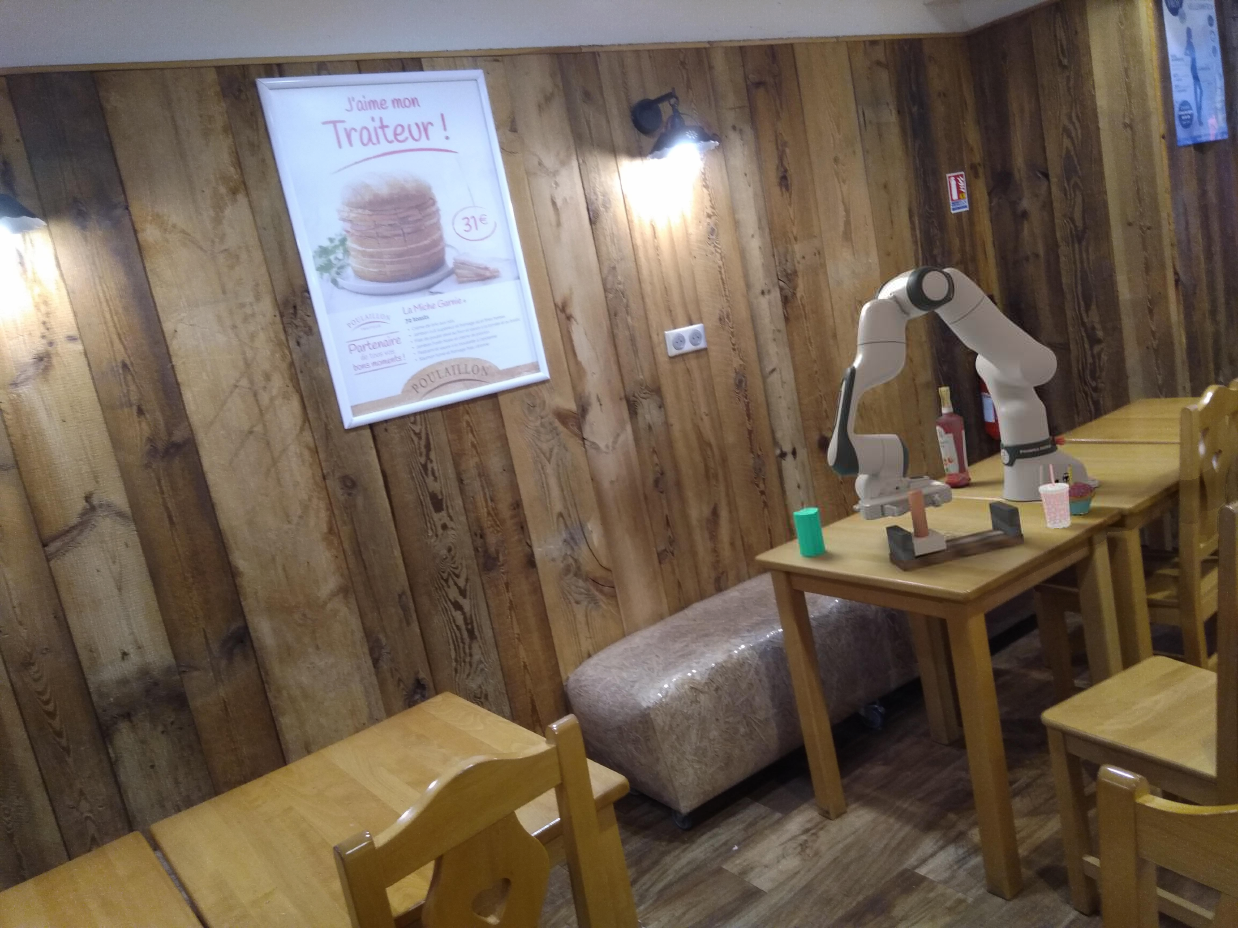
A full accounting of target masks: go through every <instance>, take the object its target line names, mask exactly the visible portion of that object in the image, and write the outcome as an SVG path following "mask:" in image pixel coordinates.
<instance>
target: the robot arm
mask: <svg viewBox="0 0 1238 928" xmlns="http://www.w3.org/2000/svg"><path fill="white" fill-rule="evenodd" d="M933 311H934V312H935V313H937V314H938V316H939V317H940V319H942V320H943V322H944V324H946V325H947V326H948V327H949V328H950V330H951V331H952V332H953V333H954V334H955V336H957V337H958V338H959V340H960V341H962V343H963V344H964V345H965V346H966V347H967V348H969V349H970V350H972V351H974V352H975V353H977V354H978V355H977V357H976V359H975V360H976V361H975V368H976V371H977V374H978V376H980V378H981V379H982V380H983V382H984V383H985V385H986V388H987V391H988V392H989V394H990V395H989V396H990V397H991V398H990V399H991V401H992V403H993V406H994V408H995V412H996V416H997V420H998V421H997V422H998V429H999V432H1000V433H999V434H1000V440H1001V441H1000V442H999V447H1000V455H1001V456H1000V457H1001V459H1002V464H1003V470H1004V471H1003V473H1004V475H1003V477H1004V479H1003V491H1002V498H1003V499H1005V500H1009V501H1016V502H1027V501H1028V502H1029V501H1031V502H1033V501H1042V497H1041V493H1040V492H1039V487H1040V486H1043V485H1046V484H1052V480H1051V472H1050V465H1052V469H1053V477H1054V483H1065V484H1066V483H1069V482H1070V477H1069V471H1068V467H1069V465H1070V467H1071V470H1072V476H1073V482H1083V483H1086V484H1089V485H1091V486H1092V487H1093V488H1094V489H1095V488H1097V487H1100V482H1099V480H1098V479H1096V478H1094V477H1091V476H1088V475H1089V474H1088V472H1087V468H1086V466H1085V465H1084V463H1083V462H1082V461H1081V460H1080V459H1078V458H1076V457H1074V456H1072V455H1070V454H1068V453H1067V452H1065V451H1063V450H1060V449H1059V446H1064V445H1065V443H1066V438H1064V437H1061V436H1055V437H1054V436H1051V435H1050V433H1049V432H1050V431H1049V427H1048V426H1049V425H1048V418H1047V412H1046V411H1047V410H1046V406H1045V405H1044V403H1043V401H1042V400H1041V399H1040V397H1039V396H1038V394H1037V393H1036V390H1035V388H1034V387H1038V386H1041V385H1043V384H1046V383H1048V382H1049V381H1051V379H1053V377H1054V376H1055V373H1056V371H1057V367H1058V365H1057V364H1058V362H1057V357H1056V355H1055V353H1054V351H1052V350H1051V348H1049V347H1047V346H1046V345H1044V344H1042V343H1040V342H1038V341H1037V340H1035V338H1033V337H1032V336H1031V335H1030V334H1028V333H1027V332H1025V331H1024V330H1023V329H1022V328H1021V327H1020V326H1018V325H1017V324H1015V323H1014V321H1011V320H1010V319H1009V318H1007V316H1006V315H1004V314H1003V312H1001V311H1000V310H999V308H998V307H997V306H996V305H995V304H994V303H993V302H992V301H991V299H990V298H989V297H988V296H987V295H986V293H985V292H984V291H983V290H982V289H981V287H979V286H978V285H977V284H976V283H975V282H974V281H973V280H972V279H970V277H968V276H967V275H965V273H963V272H961V271H960V270H959V269H956V268H953V267H946V268H944V269H942V268H940V267H937V266H932V265H925V266H919V267H917V268H915V269H912V270H908V271H905V272H902V273H900V274H899V275H897V276H896V277H894V278H892V279H889V280H887V281H886V282H884V283H883V284H881V286H880V287H879V288H878V290H877V291H876V293H875V295H874V299H872V300H870V301H868V302H867V303H865V304H864V305H863V307H862V309H861V311H860V317H859V320H858V321H859V322H858V327H857V349H856V350H857V351H856V355H855V359H854V361H853V362H852V365H850V366H848V367H847V368H846V369H845V371H844V373H843V376H842V378H841V382H840V383H841V384H840V386H839V387H840V388H839V393H838V399H837V403H836V404H837V405H836V410H835V416H834V417H835V418H834V422H833V427H832V428H833V429H832V433H831V437H830V441H829V446H828V448H827V464H828V467H829V468H830V469H831V470H832V471H833V472H834V473H835V474H836V475H839V477H842V478H843V477H844V478H846V477H855V476H857V478H856V480H855V484H854V485H855V491H856V494H857V496H858V497H859V500H858V503H857V504H855V505H853V507H852V508H853V510H855V511H856V512H860V516H861V517H862V518H863V519H865V521H875V520H878V519H883V518H888V517H901V516H903V515H906V514H907V513H909V512H911V510H910V504H909V498H908V491H910V490H914V489H921V490H922V493H923V499H924V506H925V509H926V508H930V507H932V508H940V507H942V506H943V504H948V503H951V502H952V501H953V493H952V487H950V486H949V485H948V484H946V483H945V482H943V481H940V480H936V479H931V477H930V476H929V475H919V476H918V475H917V476H909V477H907V474H908V471H909V468H910V452H909V449H908V447H907V445H906V443H905V442H904V441H903V439H902V438H901V437H900V436H899V435H897V434H896V433H895V434H894V433H893V434H890V433H889V434H888V433H880V434H879V433H877V434H857V433H855V432H854V429H855V428H854V427H855V422H856V417H857V410H858V403H859V400H860V397H861V396H862V395H863V394H864V393H866V391H868V390H870V389H872V388H875V387H876V386H880V385H882V384H884V383H887V382H889V381H891V380H892V379H894V378H896V376H898V375H899V374H900V373H901V371H902V370H903V368H904V366H905V363H906V362H905V361H906V356H907V355H906V354H907V353H906V352H907V351H906V350H907V349H906V348H907V347H906V327H907V324H908V321H909V320H913V319H916V318H919V317H921V316H923V315H925V314H927V313H930V312H933ZM1057 445H1059V446H1057Z"/></svg>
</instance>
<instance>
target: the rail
mask: <svg viewBox="0 0 1238 928" xmlns="http://www.w3.org/2000/svg"><path fill="white" fill-rule="evenodd" d="M988 507H989V513H990V520H991V521H990V522H991V529H987V530H984V531H980V532H975V533H970V534H966V535H962V536H961V535H960V536H957V537H954V538H949V539H945V542H946V548H947V549H943V550H938V551H934V552H930V553H926V554H921V555H917V556H915V553H914V547H913V541H912V535H911V533H912V532H911V531H909V530H907V529H905V528H903V527H901V526H899V525H897V524H895V525H890V526H886V527H885V531H886V538H887V543H888V549H889V552H888V556H889V562H890V563H891V564H893V565H894V566H895V567H897V568H899V569H901V570H902V571H903V572H908V571H912V570H916V569H919V568H924V567H928V566H932V565H937V564H940V563H941V564H942V563H944V562H945V563H946V562H949V561H953V560H958V559H959V560H960V559H962V558H966V557H970V556H975V555H979V554H983V553H988V552H991V551H995V550H1001V549H1005V548H1009V547H1014V546H1017V545H1022V544H1025V536H1024V533H1023V531H1022V525H1021V519H1020V511H1019V507H1017V506H1014V505H1012V504H1009V503H1006V502H1003V501H1001V500H998V501H994V502H993V501H992V502H989V503H988Z"/></svg>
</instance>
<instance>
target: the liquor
mask: <svg viewBox="0 0 1238 928" xmlns="http://www.w3.org/2000/svg"><path fill="white" fill-rule="evenodd" d="M938 393H939V395H940V400H941V415H942V416H940V417H938V418H937V419H936V420H935V423H934V424H935V428H936V432H937V433H936V434H937V437H938V442H939V443H938V444H939V448H940V453H941V457H942V458H941V459H942V462H943V467H944V472H945V473H944V474H945V477H946V480H945V482H944V483H946V484H948V485H949V486H950V487H951V489H953V488H955V489H959V488H964V487H966V486H968V485H969V483H970V482H971V481H972V478H971V477H970V474H969V466H968V455H967V447H966V435H965V426H964V417H963V416H960V415H959V414H955V413H954V409H953V405H952V401H951V392H950V387H949V386H942V387H939V388H938Z"/></svg>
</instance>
